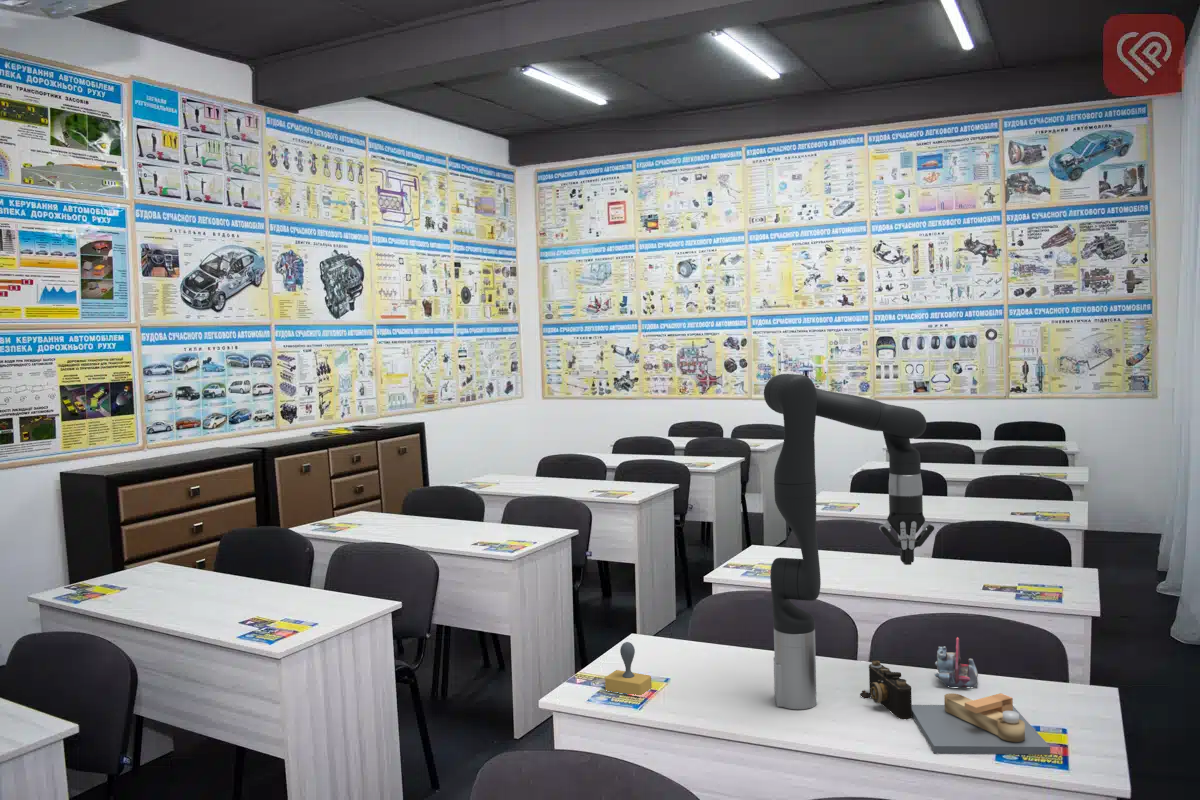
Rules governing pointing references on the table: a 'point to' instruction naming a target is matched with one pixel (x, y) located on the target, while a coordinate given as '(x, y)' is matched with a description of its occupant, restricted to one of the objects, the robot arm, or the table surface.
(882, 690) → the camera
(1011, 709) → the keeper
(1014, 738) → the latch lever
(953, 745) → the base plate
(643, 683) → the rubber stamp
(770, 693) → the table surface
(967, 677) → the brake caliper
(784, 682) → the robot arm
